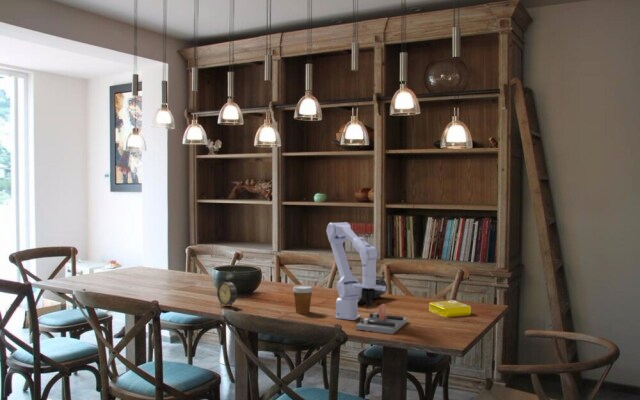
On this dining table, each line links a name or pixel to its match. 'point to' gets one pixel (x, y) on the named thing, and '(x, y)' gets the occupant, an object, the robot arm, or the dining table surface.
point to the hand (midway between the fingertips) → (368, 306)
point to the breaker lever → (382, 311)
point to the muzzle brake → (378, 292)
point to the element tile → (449, 308)
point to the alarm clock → (227, 293)
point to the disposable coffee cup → (302, 298)
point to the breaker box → (381, 323)
